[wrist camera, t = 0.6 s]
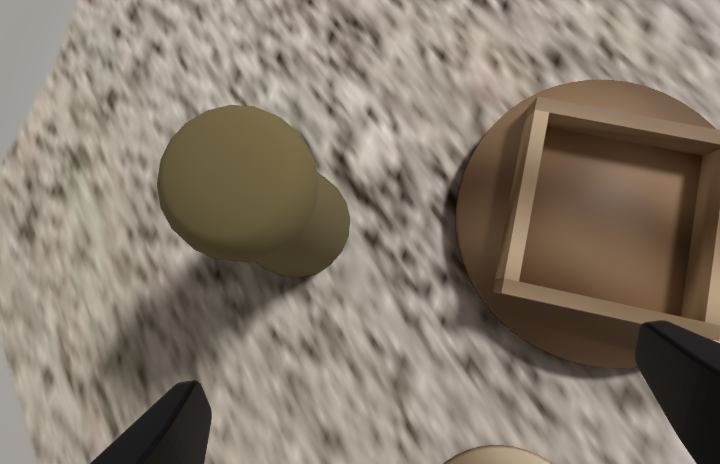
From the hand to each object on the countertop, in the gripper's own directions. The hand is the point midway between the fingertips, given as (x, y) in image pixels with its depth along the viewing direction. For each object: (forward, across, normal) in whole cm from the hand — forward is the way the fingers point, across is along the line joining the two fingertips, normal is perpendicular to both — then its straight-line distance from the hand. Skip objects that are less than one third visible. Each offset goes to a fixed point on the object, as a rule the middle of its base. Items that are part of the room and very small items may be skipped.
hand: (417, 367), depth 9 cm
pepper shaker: (+15, +5, +3) cm, 16 cm away
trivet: (+14, -11, +5) cm, 18 cm away
